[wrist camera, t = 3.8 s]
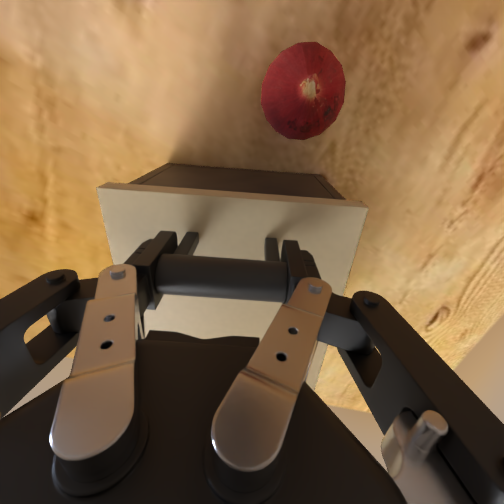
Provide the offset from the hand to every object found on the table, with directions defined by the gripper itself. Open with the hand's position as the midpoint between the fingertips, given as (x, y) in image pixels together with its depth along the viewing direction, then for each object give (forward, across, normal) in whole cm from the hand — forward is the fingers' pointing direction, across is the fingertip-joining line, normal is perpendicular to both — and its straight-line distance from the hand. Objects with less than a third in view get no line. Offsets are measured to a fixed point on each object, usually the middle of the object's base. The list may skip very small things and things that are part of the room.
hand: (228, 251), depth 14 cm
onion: (+13, -4, -8) cm, 16 cm away
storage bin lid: (+3, 0, +7) cm, 7 cm away
